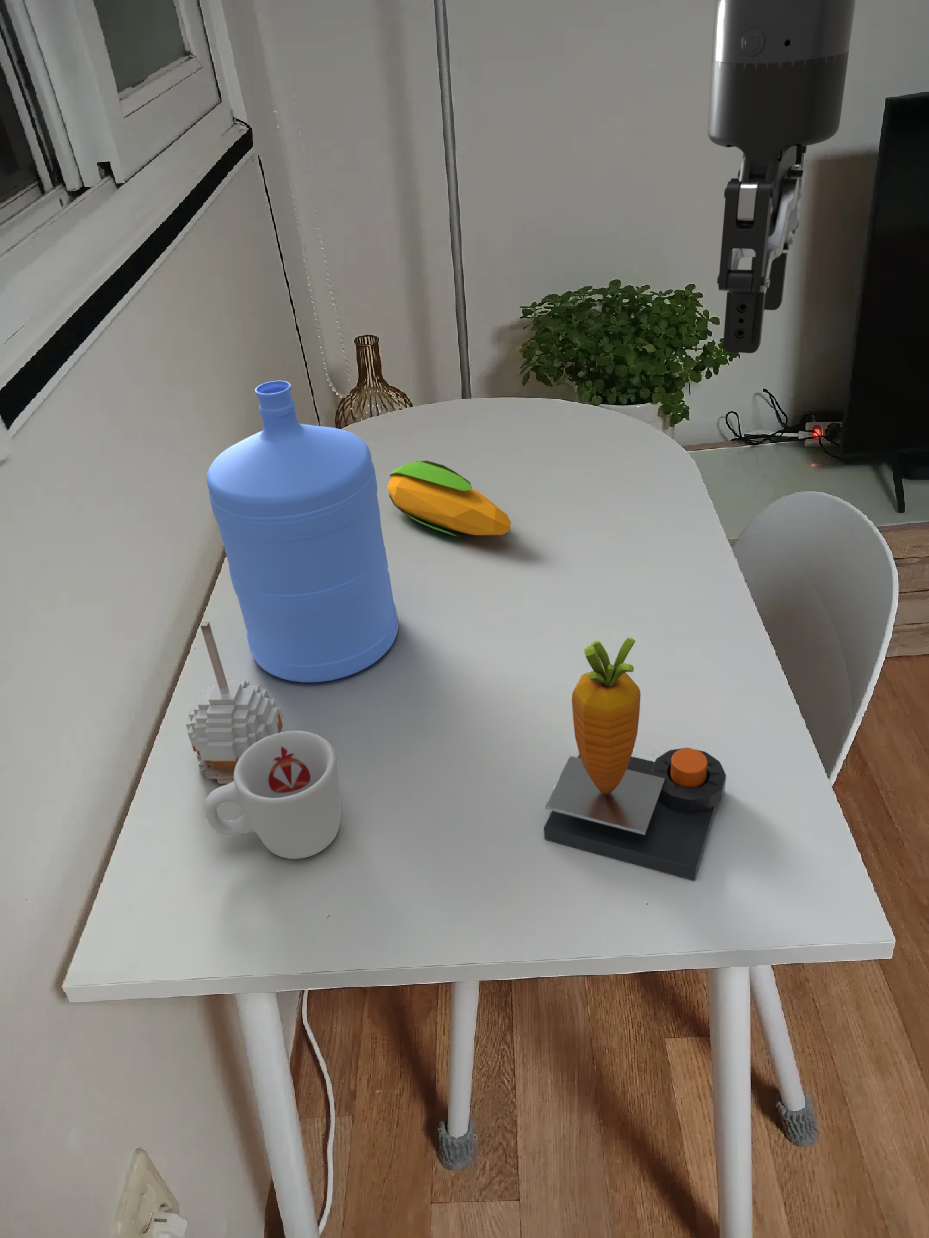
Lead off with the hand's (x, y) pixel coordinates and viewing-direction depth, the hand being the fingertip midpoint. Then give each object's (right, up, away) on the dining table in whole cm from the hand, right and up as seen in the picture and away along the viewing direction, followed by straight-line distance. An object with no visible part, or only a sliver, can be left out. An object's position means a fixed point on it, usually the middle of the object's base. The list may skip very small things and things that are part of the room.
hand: (753, 328), depth 64 cm
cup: (-34, -38, +15) cm, 53 cm away
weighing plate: (-8, -33, +12) cm, 36 cm away
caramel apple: (-39, -32, +23) cm, 56 cm away
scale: (-5, -35, +14) cm, 38 cm away
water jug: (-34, -22, +37) cm, 55 cm away
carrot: (-8, -33, +12) cm, 36 cm away
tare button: (-1, -32, +13) cm, 35 cm away
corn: (-21, -8, +54) cm, 59 cm away
